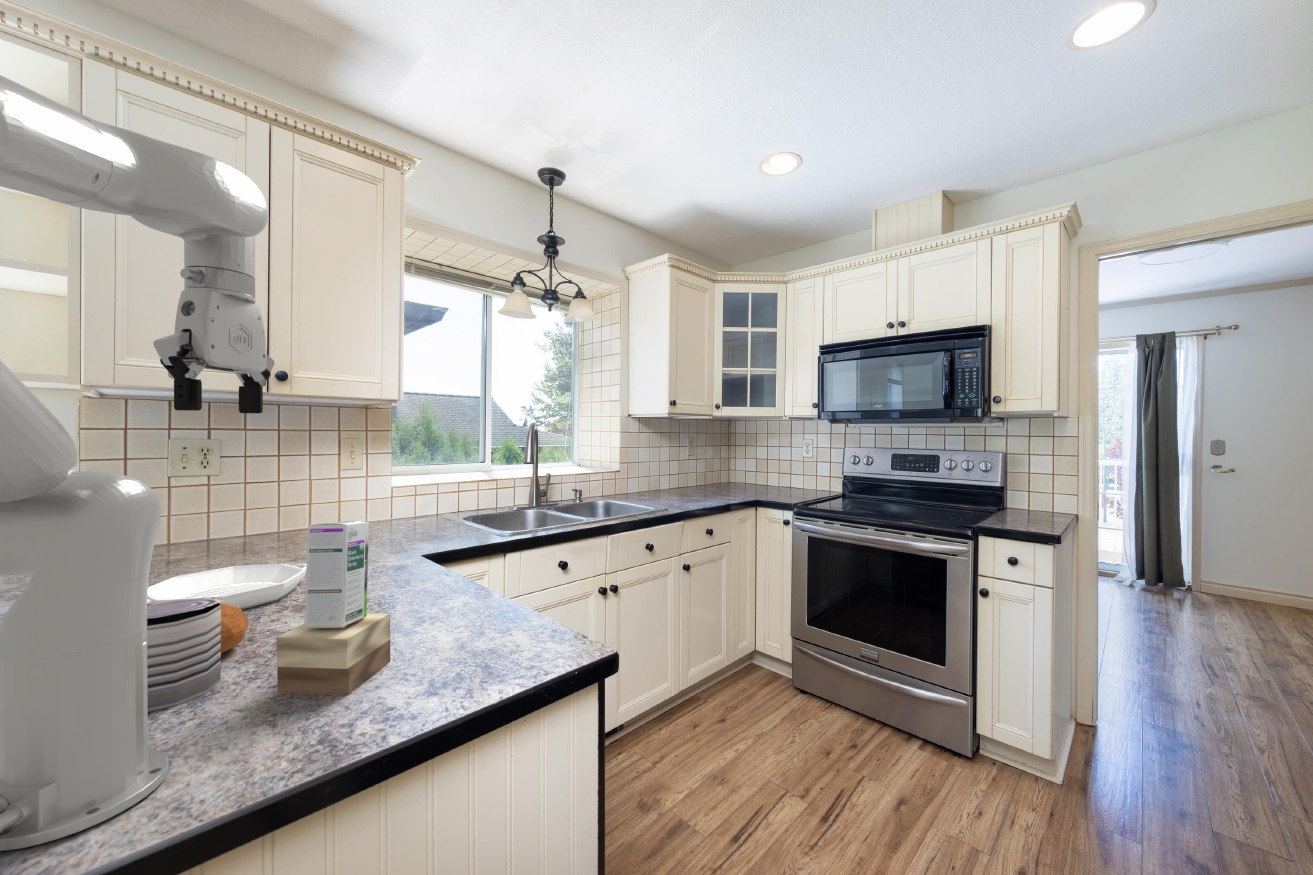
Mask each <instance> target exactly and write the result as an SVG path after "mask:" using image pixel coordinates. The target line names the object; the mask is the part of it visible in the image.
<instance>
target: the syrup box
mask: <svg viewBox="0 0 1313 875" xmlns="http://www.w3.org/2000/svg"><path fill="white" fill-rule="evenodd" d="M369 528H370V523H369V521H365V520H342V521H332V522H323V523H317V524H309V525H308V526H307V537H306V538H307V539H306V540H307V541H306V542H307V543H306V545H307V546H306V563H305V564H306V572H305V597H304V599H305V600H304V621H303V622H304V623H303V624H304V626H305V627H308V628H343V627H345V626H346V625H348V624H351V623H353V622H355V621H357V620H360V619H362V618H365V617H366V616H367V613H368V612H367V611H368V609H367V608H368V607H367V605H368V580H369V579H368V578H369V576H368V572H369V570H368V569H369V536H370V535H369V534H370V533H369Z"/></svg>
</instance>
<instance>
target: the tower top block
mask: <svg viewBox="0 0 1313 875" xmlns="http://www.w3.org/2000/svg"><path fill="white" fill-rule="evenodd" d="M388 640H390V641H391V613H390V612H387V613H385V612H367V616H366V617H365V618H362V619H360V620H357V621H355V622H353V623H351V624H348V625H346V626H345V627H343V628H308V627H305V626H304V623H302V624H301V625H299V626H296V627H294V628H293V629H290V630H289V631H287V632H285V633H282V634H280V635H279V636H276V667H302V668H332V669H348V668H349V667H351V666H352V665H354V664H355V663H356V662H358V661H359V660H361V659H362V658H364V657H365V656H367V655H368V654H369V653H371V652H372V651H374V650H375V649H377V648H378V647H380V646H381V645H383V644H384V643H385V642H387V641H388Z"/></svg>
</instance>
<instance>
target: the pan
mask: <svg viewBox="0 0 1313 875" xmlns="http://www.w3.org/2000/svg"><path fill="white" fill-rule="evenodd" d="M306 564H307V563H297V564H293V565H291V564H288V563H287V564H286V563H269V564H267V563H266V564H250V565H249V564H247V565H232V566H227V567H222V568H215V569H210V570H204V571H199V572H194V573H188V574H181V575H177V576H173V577H170V578H168V579H165V580H162V581H160V582H157V583H155V584H153V585H150V586H148V592H147V605H154V604H160V603H165V602H171V601H178V600H190V599H202V598H216V599H220V600H224V601H222V602H219V603H225V604H229V605H232V606H236V607H237V608H239V609H241V610H242V609H243V610H246V608H247V609H251V608H255V607H258V605H259V606H263V605H266V603H267V604H270V602H271V603H273V602H274V601H275V602H277V601H278V600H280V599H282V598H283V597H286V595H288V594H289V593H291V592H292V591H294V590H295V589H296V587H297V585H298V584H299V583H300V582H301V581H302V580H303V578H304V577H306ZM301 567H302V568H301ZM262 604H263V605H262ZM243 610H242V611H243Z"/></svg>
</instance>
